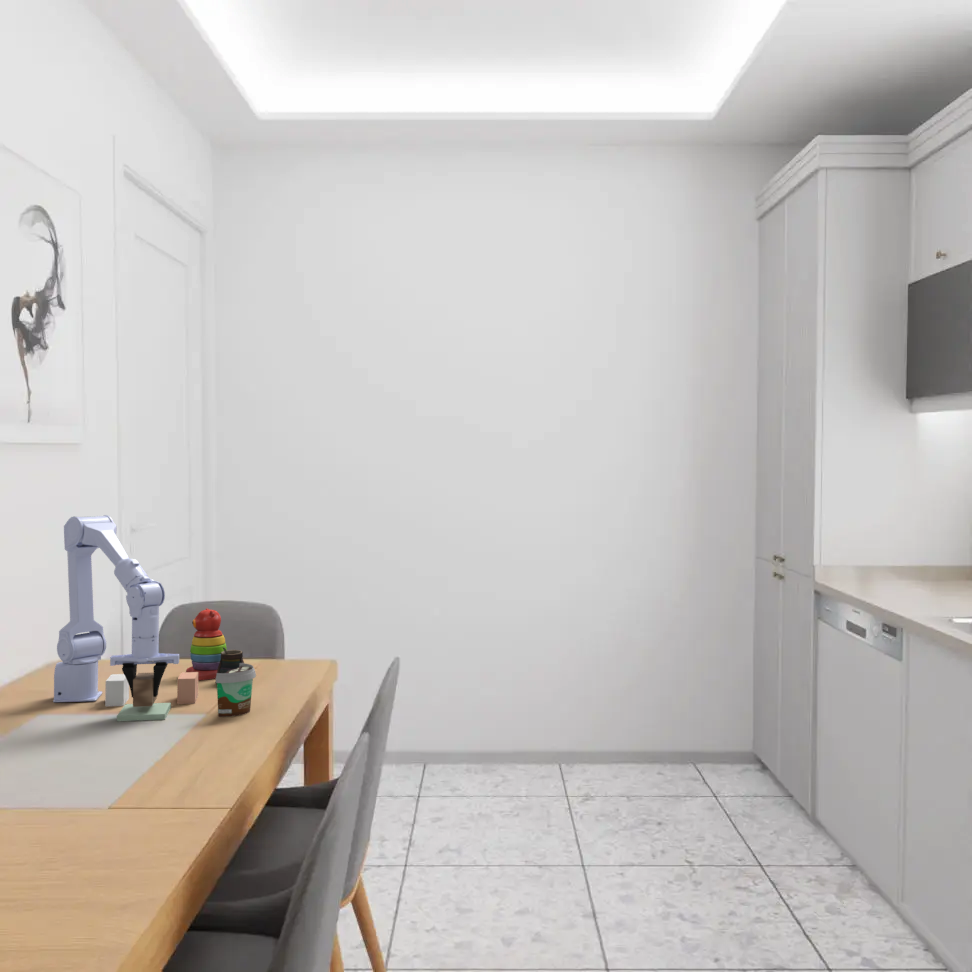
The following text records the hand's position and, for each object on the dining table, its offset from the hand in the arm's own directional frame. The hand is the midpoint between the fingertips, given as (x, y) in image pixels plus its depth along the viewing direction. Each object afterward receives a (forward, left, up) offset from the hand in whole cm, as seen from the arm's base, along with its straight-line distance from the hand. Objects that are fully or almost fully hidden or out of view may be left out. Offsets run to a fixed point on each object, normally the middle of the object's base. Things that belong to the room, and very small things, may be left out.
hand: (144, 696), depth 209 cm
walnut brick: (0, 0, -2) cm, 2 cm away
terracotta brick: (+8, +12, -4) cm, 15 cm away
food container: (+21, -1, -4) cm, 21 cm away
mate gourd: (+17, +29, -4) cm, 34 cm away
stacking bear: (+10, +38, -4) cm, 40 cm away
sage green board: (0, 0, -4) cm, 4 cm away
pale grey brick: (-8, +12, -4) cm, 15 cm away
